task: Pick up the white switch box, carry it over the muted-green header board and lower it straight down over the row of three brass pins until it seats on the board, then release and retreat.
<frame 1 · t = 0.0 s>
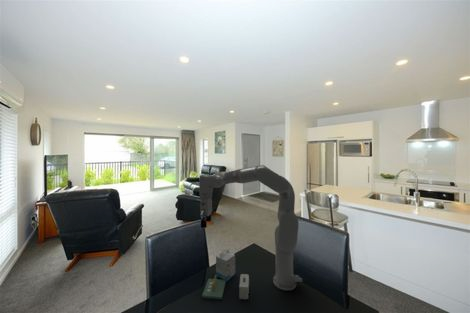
hand: (206, 224, 101), 31 cm above the table, fingers open, 9 cm apart
white switch box: (244, 291, 89), on the table
header: (214, 289, 91), on the table
ink box: (225, 275, 103), on the table
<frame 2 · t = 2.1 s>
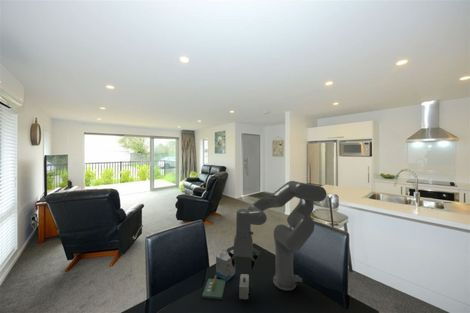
hand: (242, 266, 89), 13 cm above the table, fingers open, 9 cm apart
nothing on the table moved.
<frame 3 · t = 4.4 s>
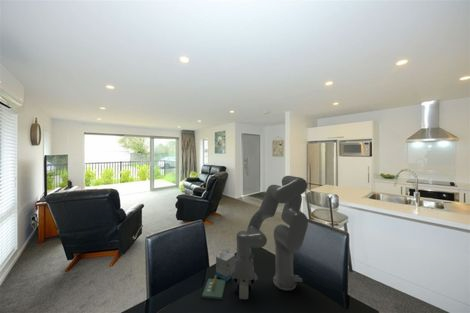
hand: (244, 290, 89), 1 cm above the table, fingers closed on white switch box, 4 cm apart
white switch box: (244, 291, 89), on the table, touching gripper
everything else where it was.
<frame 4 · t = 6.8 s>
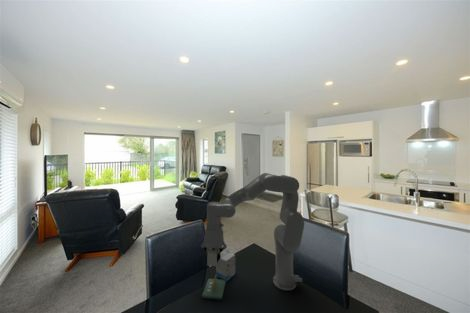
hand: (213, 259, 91), 16 cm above the table, fingers closed on white switch box, 4 cm apart
white switch box: (213, 260, 91), point 15 cm above the table, touching gripper
everything else where it was.
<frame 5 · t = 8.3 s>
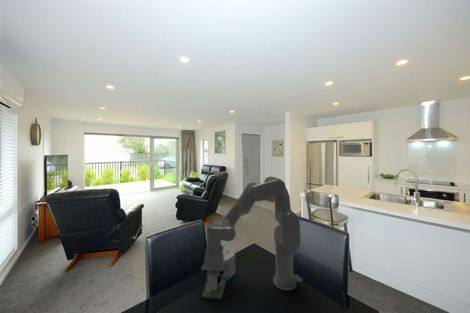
hand: (214, 282, 91), 4 cm above the table, fingers closed on white switch box, 4 cm apart
white switch box: (214, 283, 91), point 3 cm above the table, touching gripper
everything else where it was.
when the fingers open (2 cm above the table, at t = 9.6 s): white switch box stays where it is, resting on header.
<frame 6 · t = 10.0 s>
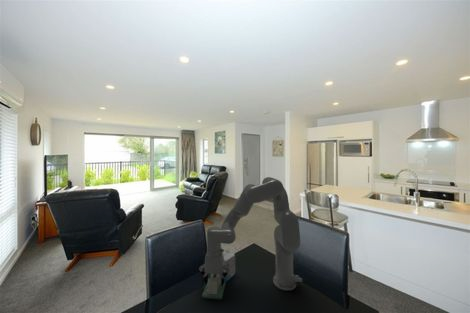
hand: (214, 283, 91), 3 cm above the table, fingers open, 8 cm apart
white switch box: (214, 287, 91), point 1 cm above the table, touching header
everything else where it was.
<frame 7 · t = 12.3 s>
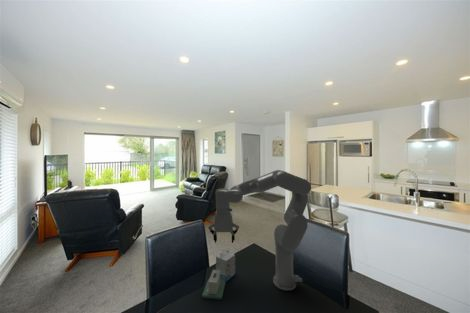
hand: (224, 241, 95), 24 cm above the table, fingers open, 9 cm apart
nothing on the table moved.
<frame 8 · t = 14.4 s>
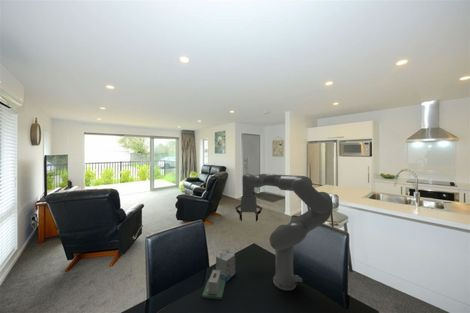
hand: (248, 220, 108), 30 cm above the table, fingers open, 9 cm apart
nothing on the table moved.
at the end: white switch box 0.1 cm off-centre on the header, point 1.3 cm above the header's base; white switch box tilted 1°; the gripper is holding nothing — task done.
